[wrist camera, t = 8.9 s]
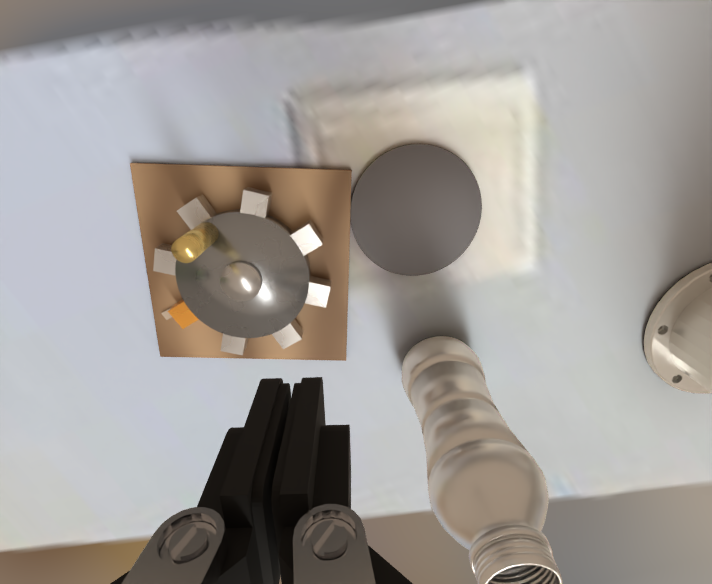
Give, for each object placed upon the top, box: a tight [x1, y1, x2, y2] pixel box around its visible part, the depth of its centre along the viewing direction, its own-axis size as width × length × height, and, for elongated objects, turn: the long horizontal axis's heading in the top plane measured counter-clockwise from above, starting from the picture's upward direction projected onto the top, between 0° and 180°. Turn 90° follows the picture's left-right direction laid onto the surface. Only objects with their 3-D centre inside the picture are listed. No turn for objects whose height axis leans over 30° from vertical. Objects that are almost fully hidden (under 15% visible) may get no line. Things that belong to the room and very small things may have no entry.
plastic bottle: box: [402, 336, 563, 584], centre depth 28 cm, size 6×7×20 cm
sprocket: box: [153, 187, 331, 355], centre depth 31 cm, size 13×13×6 cm
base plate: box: [130, 163, 352, 360], centre depth 34 cm, size 16×16×1 cm
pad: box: [350, 144, 482, 276], centre depth 32 cm, size 10×10×1 cm
